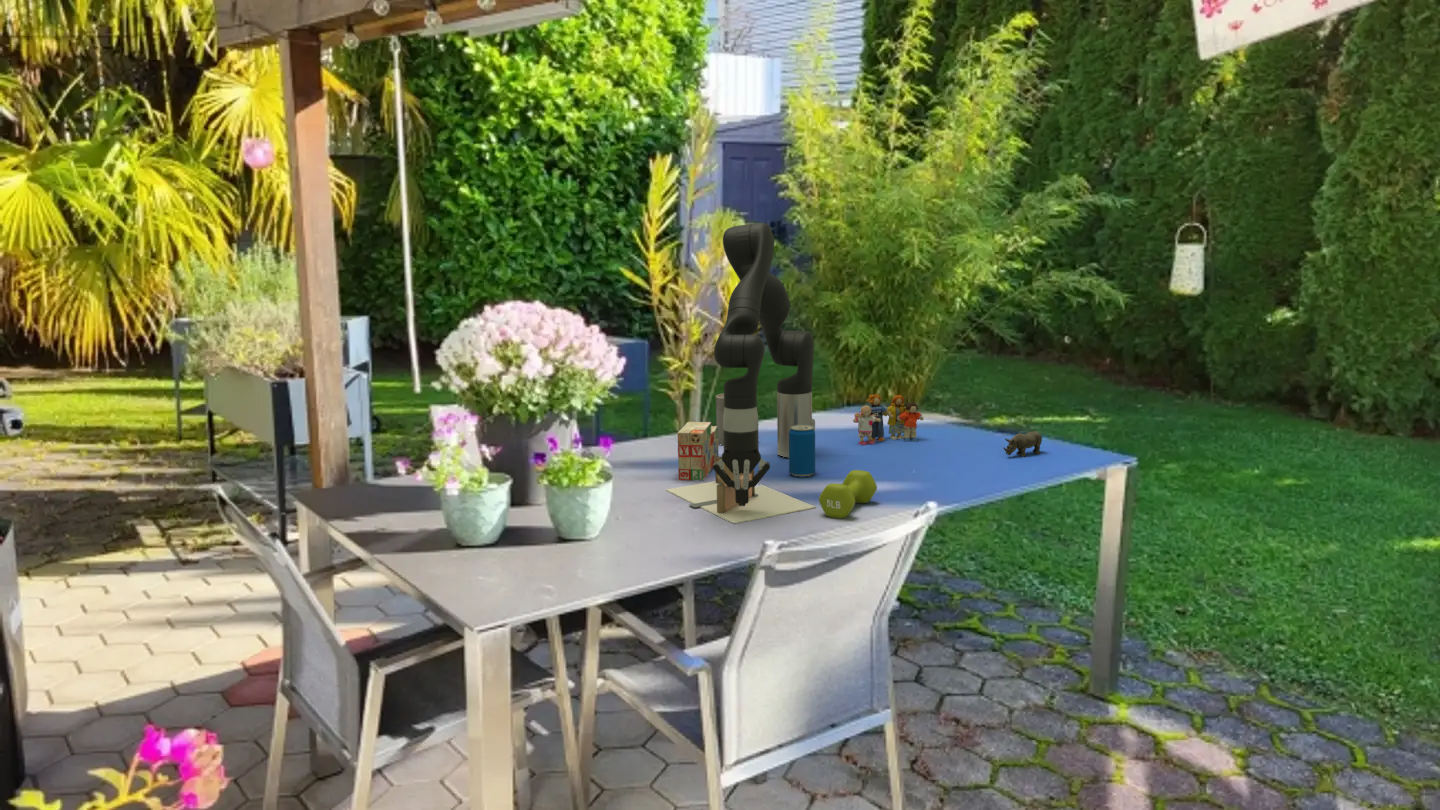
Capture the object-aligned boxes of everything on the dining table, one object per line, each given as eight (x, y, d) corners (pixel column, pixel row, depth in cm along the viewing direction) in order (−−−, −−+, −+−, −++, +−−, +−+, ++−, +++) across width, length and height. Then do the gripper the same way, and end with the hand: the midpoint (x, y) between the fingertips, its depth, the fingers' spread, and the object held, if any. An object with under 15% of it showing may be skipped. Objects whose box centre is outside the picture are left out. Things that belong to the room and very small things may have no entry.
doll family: (854, 446, 284) (854, 399, 281) (842, 438, 293) (842, 393, 290) (925, 440, 289) (926, 394, 286) (911, 433, 298) (912, 389, 295)
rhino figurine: (996, 457, 269) (997, 434, 268) (1034, 450, 275) (1035, 428, 274) (1008, 460, 265) (1008, 437, 264) (1046, 453, 272) (1046, 431, 271)
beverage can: (818, 472, 256) (818, 425, 254) (809, 479, 250) (809, 430, 248) (794, 470, 259) (794, 423, 257) (785, 476, 253) (784, 428, 251)
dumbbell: (850, 521, 216) (850, 488, 215) (815, 516, 220) (815, 484, 219) (879, 502, 230) (879, 471, 229) (846, 497, 234) (846, 467, 233)
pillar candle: (757, 441, 292) (756, 389, 289) (739, 447, 284) (738, 394, 281) (728, 438, 297) (726, 386, 295) (709, 444, 289) (708, 392, 286)
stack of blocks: (695, 459, 272) (694, 414, 270) (719, 460, 271) (718, 414, 269) (678, 480, 251) (677, 431, 249) (703, 481, 250) (702, 432, 248)
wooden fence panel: (720, 480, 249) (720, 456, 248) (756, 495, 235) (756, 470, 234) (714, 481, 248) (713, 457, 247) (749, 496, 235) (749, 471, 233)
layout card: (742, 477, 252) (742, 476, 252) (815, 508, 226) (815, 506, 226) (660, 491, 241) (660, 490, 241) (726, 525, 215) (726, 523, 215)
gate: (752, 496, 234) (752, 471, 233) (722, 513, 222) (722, 487, 221) (745, 495, 235) (745, 470, 234) (715, 512, 223) (715, 486, 222)
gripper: (771, 423, 224) (772, 500, 227) (711, 424, 225) (712, 500, 228) (771, 430, 217) (772, 509, 220) (709, 431, 217) (710, 510, 220)
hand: (742, 505), depth 224 cm, fingers closed
